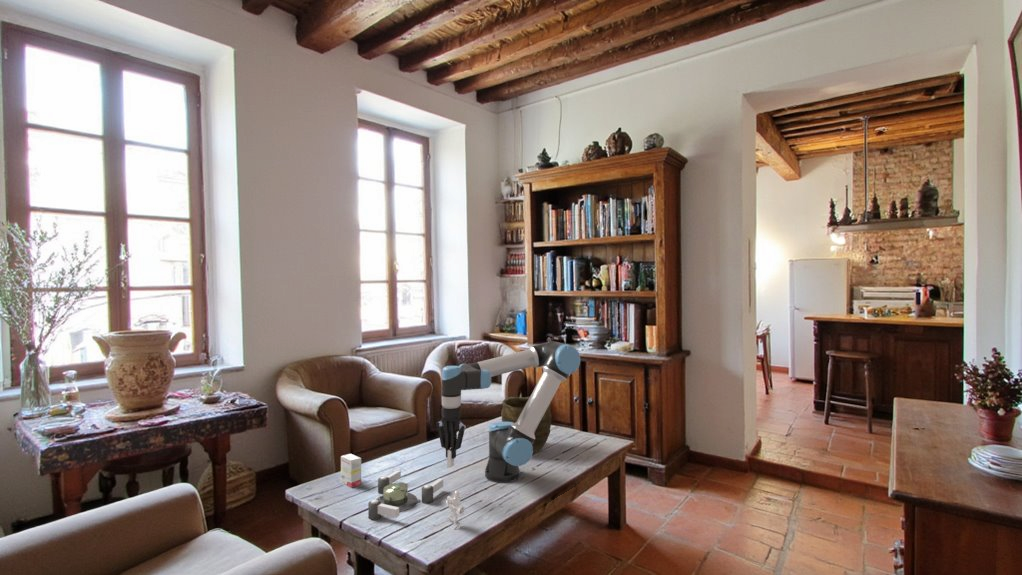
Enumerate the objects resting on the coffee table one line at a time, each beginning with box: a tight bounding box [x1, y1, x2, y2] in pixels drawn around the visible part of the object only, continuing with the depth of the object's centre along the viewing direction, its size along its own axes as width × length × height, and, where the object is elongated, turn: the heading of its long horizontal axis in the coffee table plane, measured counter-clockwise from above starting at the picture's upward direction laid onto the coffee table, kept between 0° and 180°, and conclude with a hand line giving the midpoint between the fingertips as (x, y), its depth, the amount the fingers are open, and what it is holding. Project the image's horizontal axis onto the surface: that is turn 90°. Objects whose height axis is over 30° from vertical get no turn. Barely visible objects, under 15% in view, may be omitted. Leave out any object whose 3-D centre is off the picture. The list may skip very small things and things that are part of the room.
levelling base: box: [375, 482, 421, 513], centre depth 180 cm, size 26×23×7 cm
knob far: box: [377, 470, 402, 495], centre depth 196 cm, size 12×4×6 cm, turn 156°
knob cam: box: [367, 499, 400, 521], centre depth 170 cm, size 12×4×6 cm, turn 66°
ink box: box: [340, 453, 362, 489], centre depth 201 cm, size 9×5×12 cm, turn 49°
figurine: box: [445, 490, 466, 530], centre depth 167 cm, size 5×9×12 cm, turn 57°
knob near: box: [421, 478, 444, 505], centre depth 188 cm, size 12×4×6 cm, turn 156°
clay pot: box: [500, 396, 553, 454], centre depth 241 cm, size 25×25×25 cm
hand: (450, 466), depth 188 cm, fingers closed
